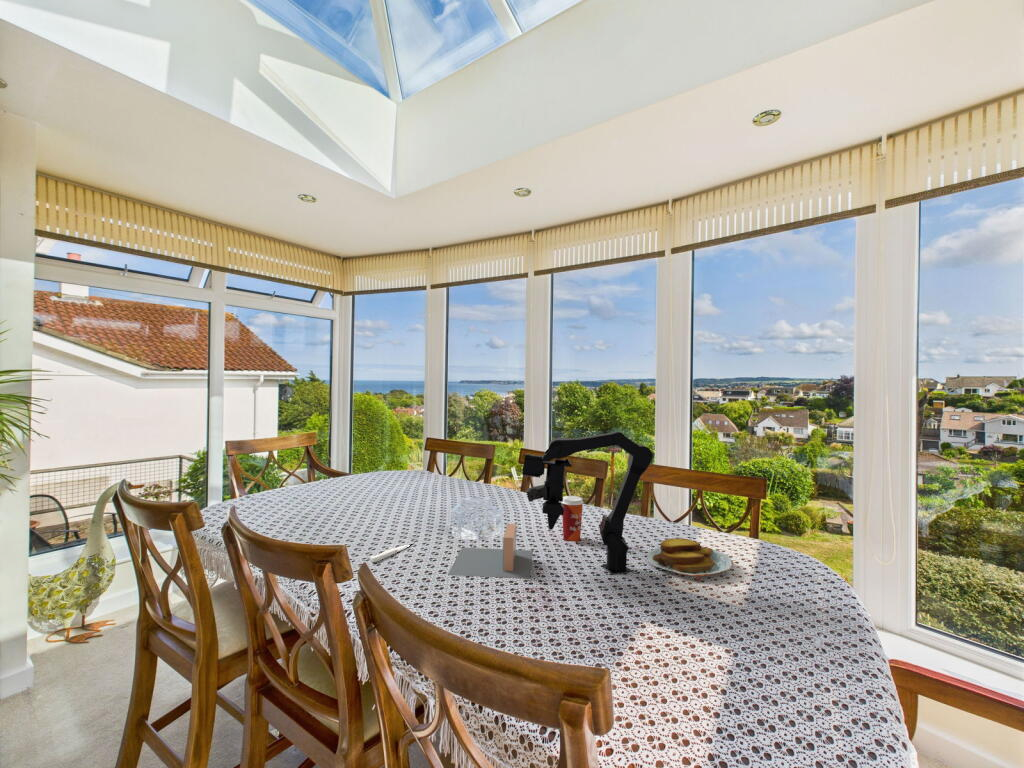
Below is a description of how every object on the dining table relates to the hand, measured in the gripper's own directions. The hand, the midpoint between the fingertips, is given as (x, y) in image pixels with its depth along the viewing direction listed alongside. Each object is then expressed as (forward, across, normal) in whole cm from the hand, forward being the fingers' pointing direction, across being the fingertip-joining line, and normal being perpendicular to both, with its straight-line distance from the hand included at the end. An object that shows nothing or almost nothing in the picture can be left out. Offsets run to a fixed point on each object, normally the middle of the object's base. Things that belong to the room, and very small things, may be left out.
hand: (550, 529), depth 140 cm
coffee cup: (+11, -25, +9) cm, 29 cm away
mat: (+13, 0, -17) cm, 21 cm away
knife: (+16, -12, -51) cm, 54 cm away
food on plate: (+9, -6, +44) cm, 46 cm away
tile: (+12, 0, -12) cm, 17 cm away
